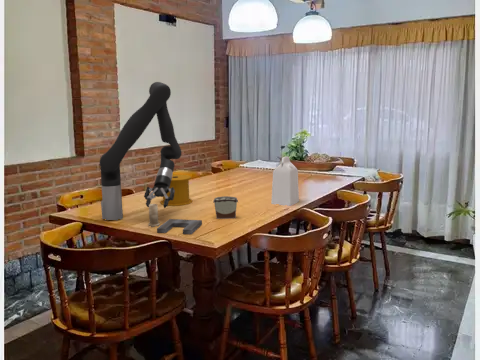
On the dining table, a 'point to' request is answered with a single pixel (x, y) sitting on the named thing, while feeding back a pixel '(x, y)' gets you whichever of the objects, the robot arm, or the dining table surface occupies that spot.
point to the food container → (225, 207)
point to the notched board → (180, 225)
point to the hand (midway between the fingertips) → (156, 206)
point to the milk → (285, 184)
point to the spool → (179, 191)
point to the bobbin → (153, 215)
